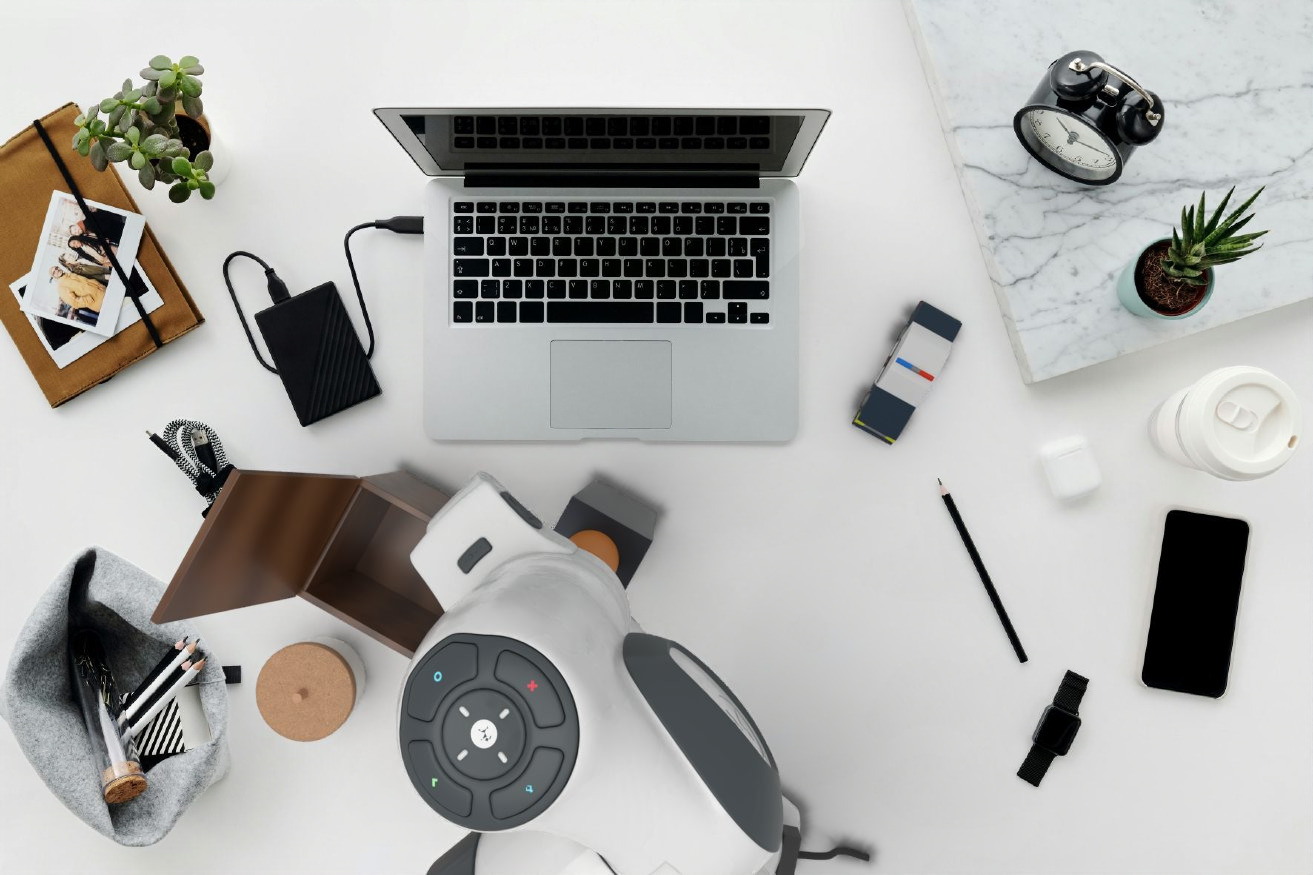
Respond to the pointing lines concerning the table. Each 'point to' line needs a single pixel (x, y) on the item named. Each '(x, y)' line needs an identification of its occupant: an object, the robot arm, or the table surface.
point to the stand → (611, 523)
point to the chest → (379, 562)
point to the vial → (598, 546)
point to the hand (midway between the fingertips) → (580, 579)
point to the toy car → (907, 373)
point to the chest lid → (256, 542)
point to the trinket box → (310, 688)
